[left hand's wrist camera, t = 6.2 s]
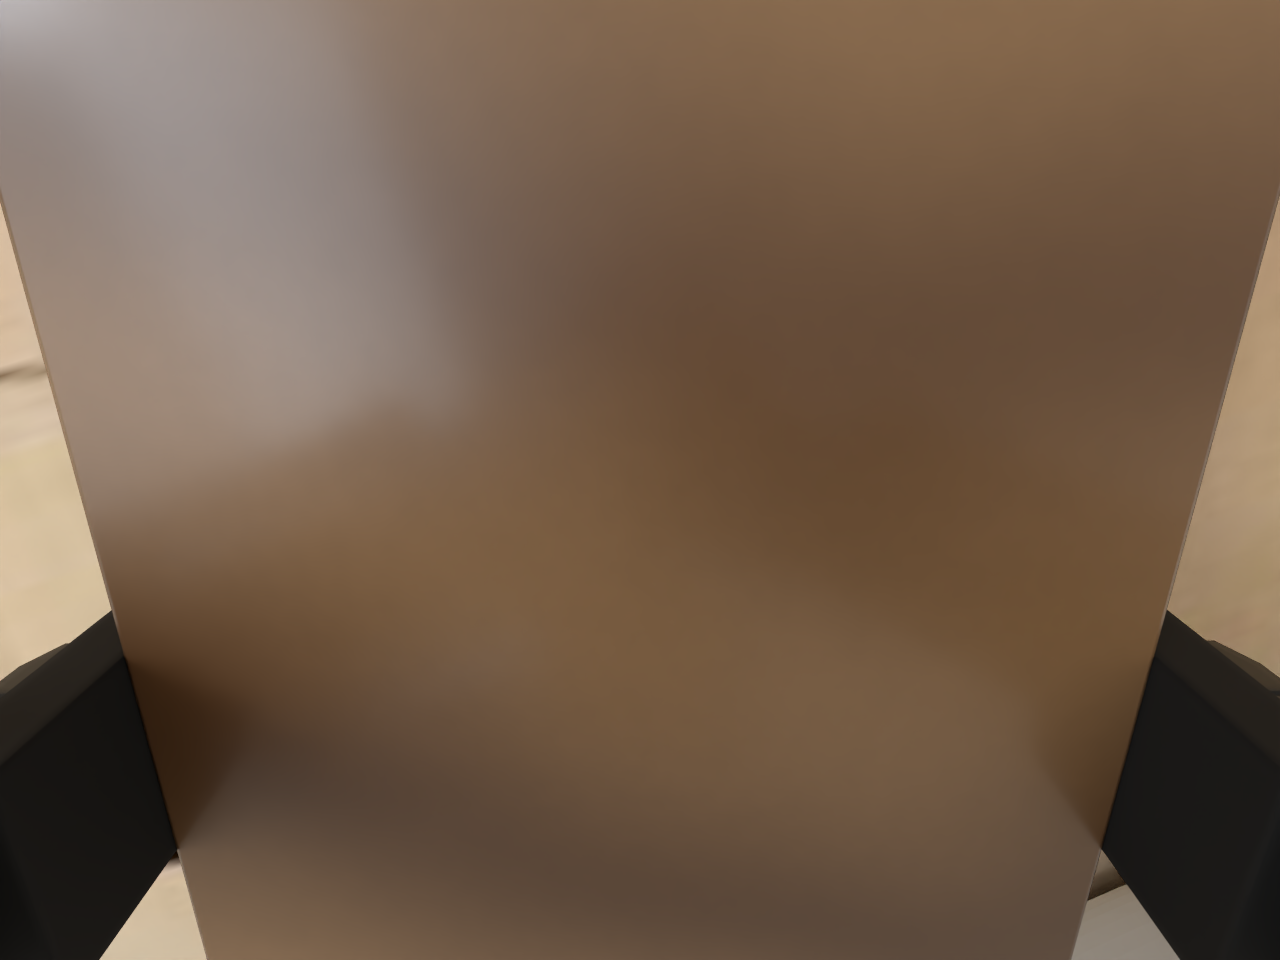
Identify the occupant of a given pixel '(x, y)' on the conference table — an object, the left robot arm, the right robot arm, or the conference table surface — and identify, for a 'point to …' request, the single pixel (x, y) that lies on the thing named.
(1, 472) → the conference table surface
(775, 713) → the cabinet
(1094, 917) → the projector
